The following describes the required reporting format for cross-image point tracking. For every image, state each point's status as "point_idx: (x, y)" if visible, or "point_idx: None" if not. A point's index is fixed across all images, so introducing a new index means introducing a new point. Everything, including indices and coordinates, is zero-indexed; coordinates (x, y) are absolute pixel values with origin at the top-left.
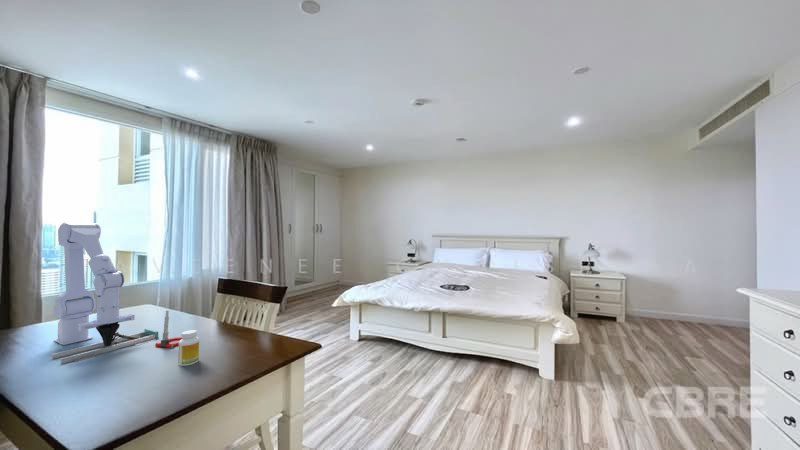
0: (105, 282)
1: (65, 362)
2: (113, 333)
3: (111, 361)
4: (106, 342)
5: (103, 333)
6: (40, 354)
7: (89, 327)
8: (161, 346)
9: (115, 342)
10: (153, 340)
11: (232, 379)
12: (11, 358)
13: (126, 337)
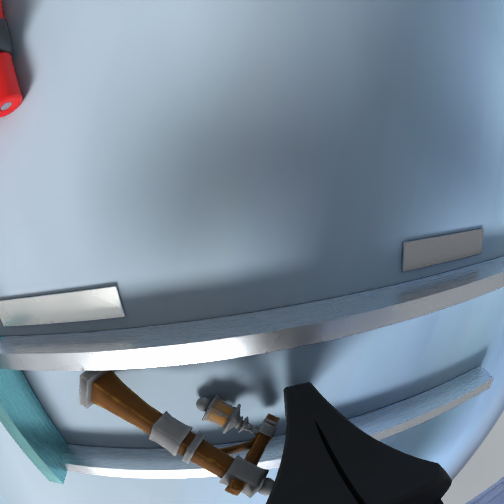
0: None
1: (498, 259)
2: (297, 463)
3: (364, 14)
4: (326, 400)
5: (400, 453)
6: (448, 445)
7: (500, 490)
8: (11, 45)
9: (241, 423)
10: (9, 299)
11: None
12: (479, 441)
13: (168, 426)
